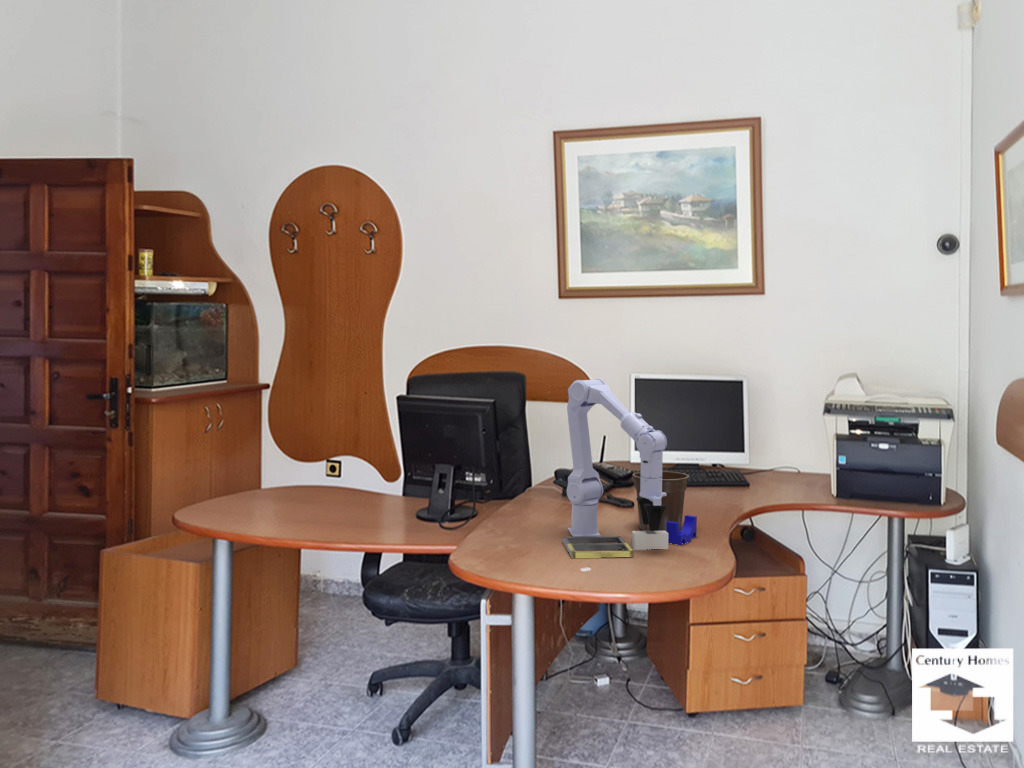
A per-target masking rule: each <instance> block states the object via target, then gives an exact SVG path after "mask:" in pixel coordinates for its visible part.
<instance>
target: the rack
mask: <svg viewBox="0 0 1024 768" xmlns="http://www.w3.org/2000/svg"><path fill="white" fill-rule="evenodd" d="M603 542H604V543H603ZM605 542H618V543H605ZM563 543H564V544H563ZM562 544H563V545H565V546H564V548H565V549H566V551H567V552H569V553H568V554H570V555H569V557H570V556H571V557H570V559H602V558H601V557H634V555H635V554H634V553H635V552H634V549H633V548H632V546H631V545H630V544H628V542H626V541H625V540H624V539H623V538H622V536H617V535H616V536H614V535H613V536H591V537H573V536H562ZM618 549H624V550H618Z"/></svg>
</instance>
